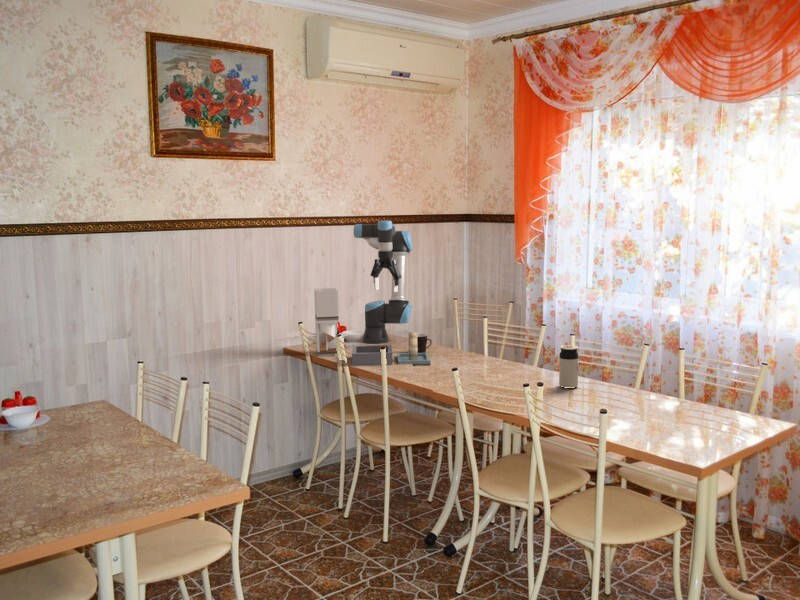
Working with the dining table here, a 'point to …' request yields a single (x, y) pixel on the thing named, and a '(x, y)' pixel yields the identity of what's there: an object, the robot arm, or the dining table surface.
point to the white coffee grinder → (326, 320)
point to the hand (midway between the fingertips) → (386, 290)
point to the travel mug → (568, 366)
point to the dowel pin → (413, 346)
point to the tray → (422, 360)
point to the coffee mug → (422, 343)
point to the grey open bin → (370, 355)
